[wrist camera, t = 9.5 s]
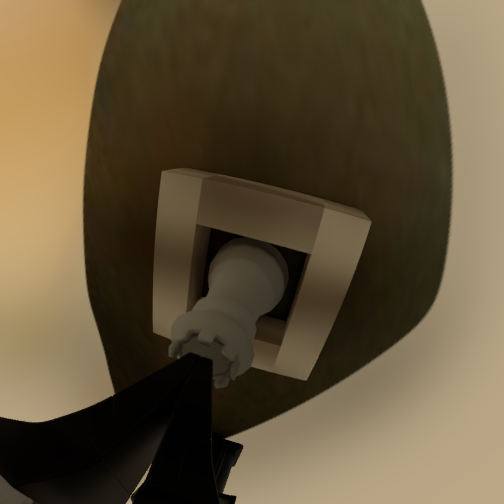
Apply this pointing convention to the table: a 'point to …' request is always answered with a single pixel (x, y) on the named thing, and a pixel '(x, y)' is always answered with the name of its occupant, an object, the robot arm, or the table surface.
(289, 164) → the table surface
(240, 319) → the rook chess piece
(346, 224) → the socket collar
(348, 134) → the table surface
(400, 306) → the table surface
